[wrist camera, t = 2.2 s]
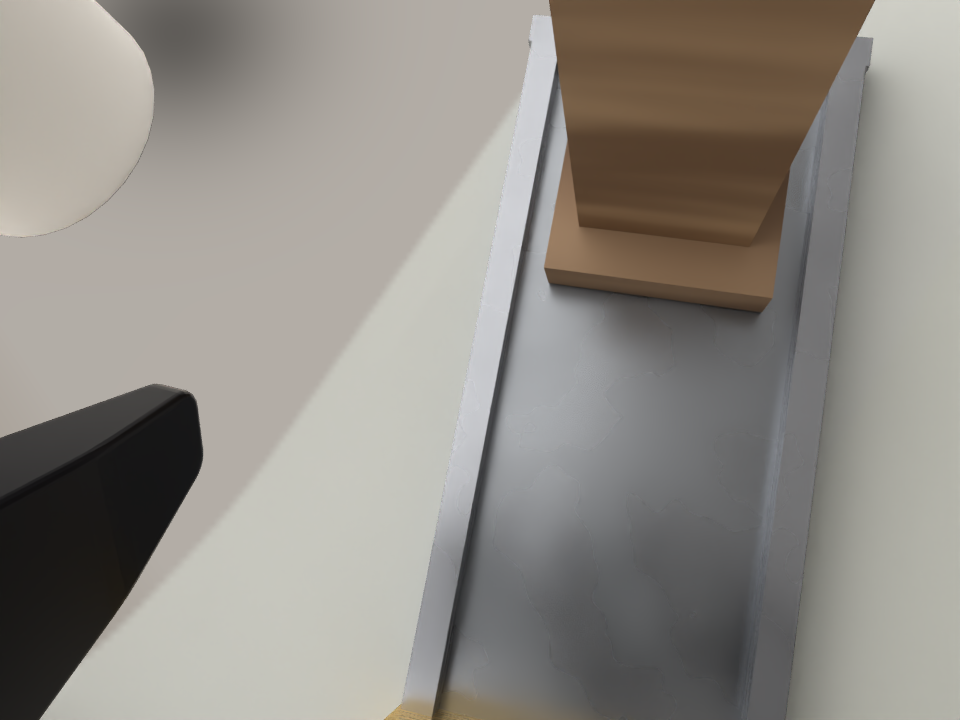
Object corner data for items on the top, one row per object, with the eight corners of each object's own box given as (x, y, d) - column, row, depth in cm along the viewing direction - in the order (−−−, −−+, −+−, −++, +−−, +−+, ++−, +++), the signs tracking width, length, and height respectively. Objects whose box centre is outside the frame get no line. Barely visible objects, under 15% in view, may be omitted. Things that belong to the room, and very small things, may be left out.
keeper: (762, 312, 20) (1002, -11, 8) (548, 282, 21) (451, -41, 9) (791, 99, 21) (1048, -503, 8) (585, 81, 22) (545, -472, 10)
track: (757, 883, 18) (778, 939, 16) (392, 780, 20) (363, 817, 17) (859, 63, 21) (889, 8, 19) (537, 39, 23) (528, -13, 21)
